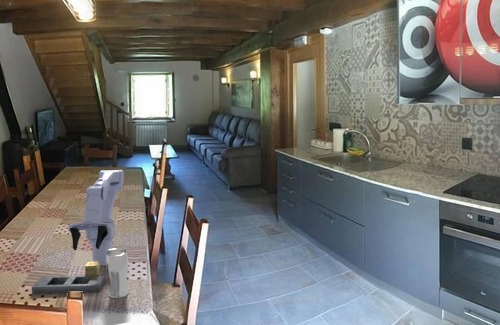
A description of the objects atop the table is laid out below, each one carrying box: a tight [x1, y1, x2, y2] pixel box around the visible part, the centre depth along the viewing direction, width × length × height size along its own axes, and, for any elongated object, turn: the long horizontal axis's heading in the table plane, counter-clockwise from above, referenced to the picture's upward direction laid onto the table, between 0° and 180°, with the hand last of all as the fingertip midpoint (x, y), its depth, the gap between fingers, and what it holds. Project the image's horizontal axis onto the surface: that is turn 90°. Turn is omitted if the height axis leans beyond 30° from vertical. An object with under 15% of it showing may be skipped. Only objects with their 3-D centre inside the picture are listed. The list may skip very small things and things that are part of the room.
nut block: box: [84, 260, 102, 275], centre depth 145 cm, size 4×4×6 cm
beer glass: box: [105, 248, 129, 300], centre depth 133 cm, size 7×7×15 cm
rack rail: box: [31, 274, 107, 295], centre depth 139 cm, size 8×22×2 cm, turn 94°
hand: (85, 248), depth 138 cm, fingers open, 7 cm apart
